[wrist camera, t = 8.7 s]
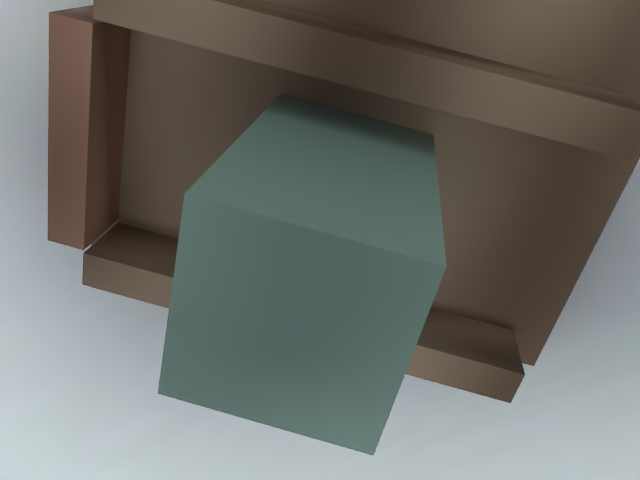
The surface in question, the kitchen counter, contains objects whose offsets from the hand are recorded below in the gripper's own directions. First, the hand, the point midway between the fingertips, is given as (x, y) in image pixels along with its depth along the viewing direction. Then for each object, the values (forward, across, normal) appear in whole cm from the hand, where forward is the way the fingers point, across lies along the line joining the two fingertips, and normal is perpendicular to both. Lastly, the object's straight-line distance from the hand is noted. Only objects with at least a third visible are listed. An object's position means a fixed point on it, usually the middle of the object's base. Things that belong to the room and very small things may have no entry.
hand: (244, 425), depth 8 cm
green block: (+9, 0, 0) cm, 9 cm away
